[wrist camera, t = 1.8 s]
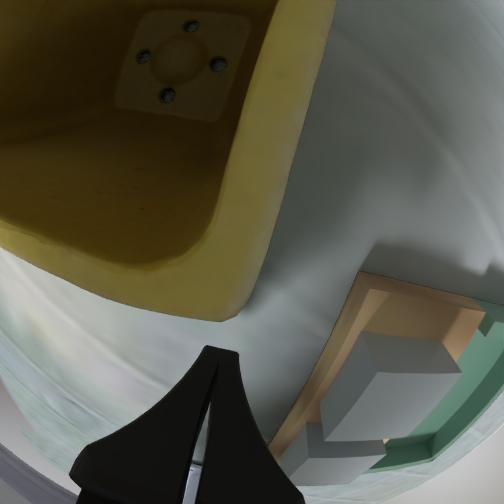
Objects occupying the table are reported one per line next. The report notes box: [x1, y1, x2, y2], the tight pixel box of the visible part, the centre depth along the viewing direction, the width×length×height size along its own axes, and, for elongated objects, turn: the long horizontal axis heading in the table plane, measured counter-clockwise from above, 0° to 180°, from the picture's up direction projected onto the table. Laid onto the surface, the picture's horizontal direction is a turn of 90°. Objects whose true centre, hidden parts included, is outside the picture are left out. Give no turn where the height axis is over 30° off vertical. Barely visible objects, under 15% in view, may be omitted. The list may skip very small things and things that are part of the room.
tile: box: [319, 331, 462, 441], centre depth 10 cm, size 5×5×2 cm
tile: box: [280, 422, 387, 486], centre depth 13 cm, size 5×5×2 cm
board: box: [268, 271, 486, 466], centre depth 14 cm, size 16×8×2 cm, turn 167°
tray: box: [363, 298, 504, 474], centre depth 13 cm, size 16×8×2 cm, turn 167°
